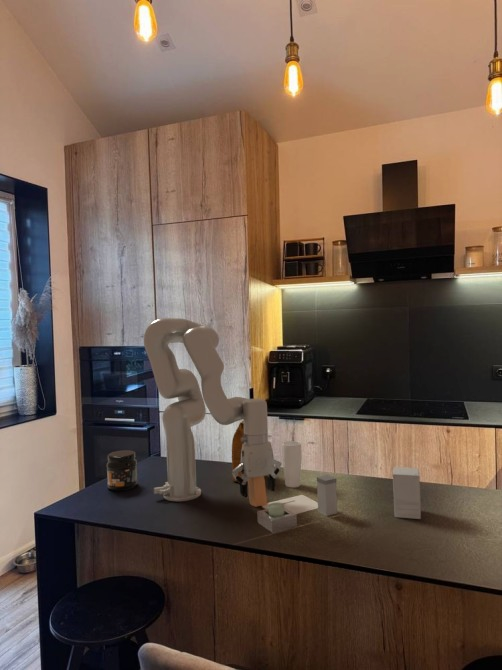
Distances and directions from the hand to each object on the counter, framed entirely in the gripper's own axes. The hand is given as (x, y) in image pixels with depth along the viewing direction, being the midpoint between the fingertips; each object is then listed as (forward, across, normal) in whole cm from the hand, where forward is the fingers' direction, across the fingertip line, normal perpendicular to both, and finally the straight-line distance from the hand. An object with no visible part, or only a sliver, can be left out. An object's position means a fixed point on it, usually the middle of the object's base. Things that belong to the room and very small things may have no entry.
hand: (258, 493), depth 149 cm
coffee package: (+4, +10, +25) cm, 27 cm away
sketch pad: (+4, +8, -7) cm, 11 cm away
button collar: (+4, -3, -16) cm, 17 cm away
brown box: (+4, 0, 0) cm, 4 cm away
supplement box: (+4, +33, -30) cm, 45 cm away
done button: (+2, -3, -16) cm, 16 cm away
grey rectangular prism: (+4, +14, -17) cm, 22 cm away
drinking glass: (+4, +19, +9) cm, 21 cm away
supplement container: (+4, -32, +43) cm, 54 cm away
